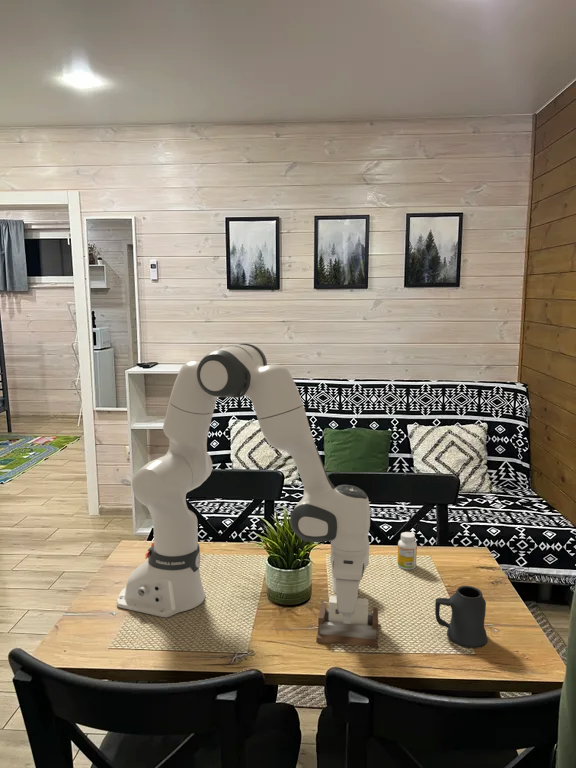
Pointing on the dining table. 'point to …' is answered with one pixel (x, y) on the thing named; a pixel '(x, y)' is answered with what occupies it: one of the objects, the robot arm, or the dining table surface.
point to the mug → (465, 617)
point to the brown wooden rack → (347, 630)
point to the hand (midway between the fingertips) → (348, 610)
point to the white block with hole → (357, 618)
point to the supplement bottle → (407, 551)
